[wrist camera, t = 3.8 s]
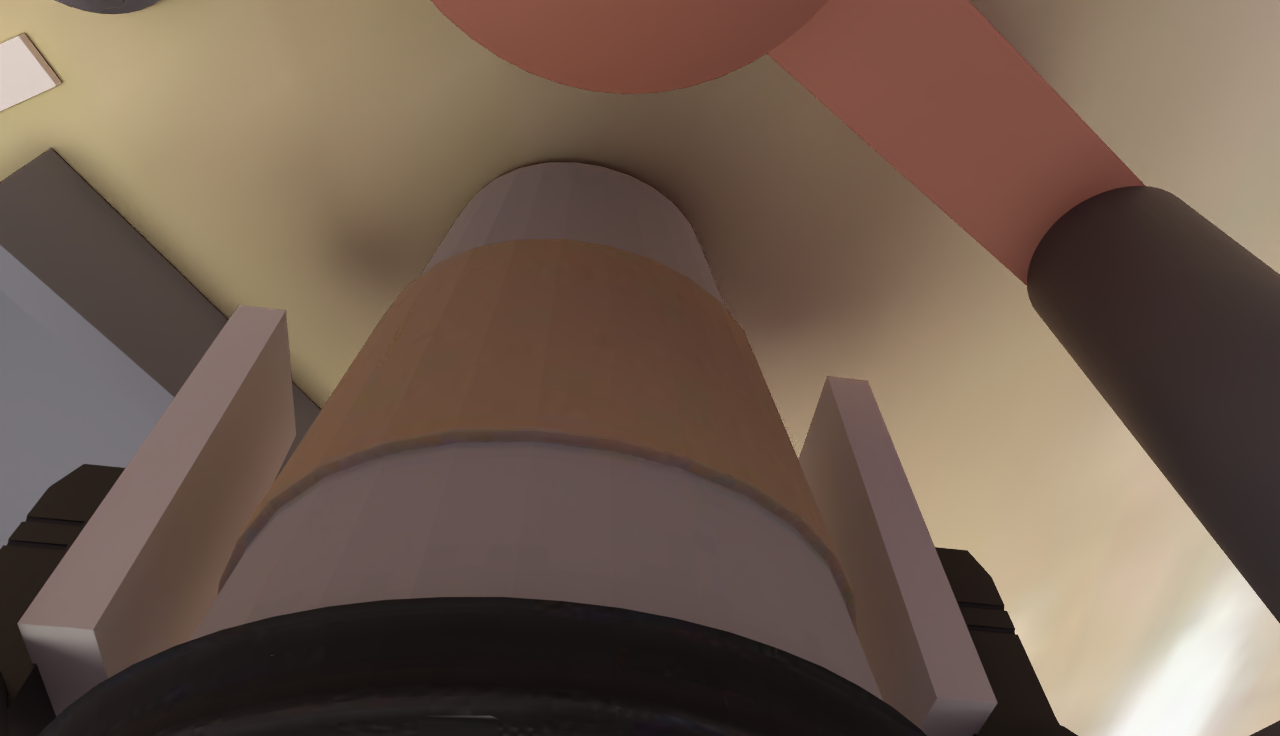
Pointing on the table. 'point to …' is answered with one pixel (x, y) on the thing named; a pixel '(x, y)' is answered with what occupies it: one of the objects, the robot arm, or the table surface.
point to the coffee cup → (530, 514)
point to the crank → (995, 209)
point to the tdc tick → (23, 72)
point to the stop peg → (109, 5)
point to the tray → (87, 335)
